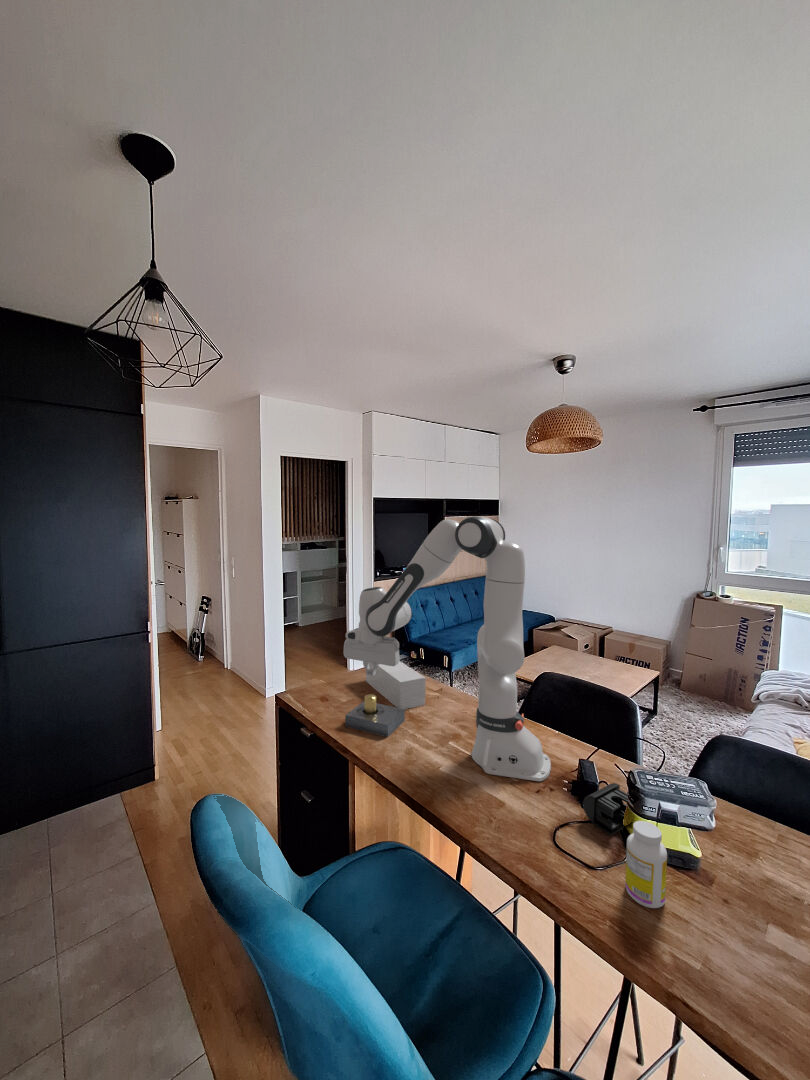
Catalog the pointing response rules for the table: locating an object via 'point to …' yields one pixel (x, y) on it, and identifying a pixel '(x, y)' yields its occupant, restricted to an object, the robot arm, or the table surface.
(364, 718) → the jig
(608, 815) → the end cap
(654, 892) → the supplement bottle
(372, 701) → the peg
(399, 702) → the light gray rectangular block
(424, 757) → the table surface
